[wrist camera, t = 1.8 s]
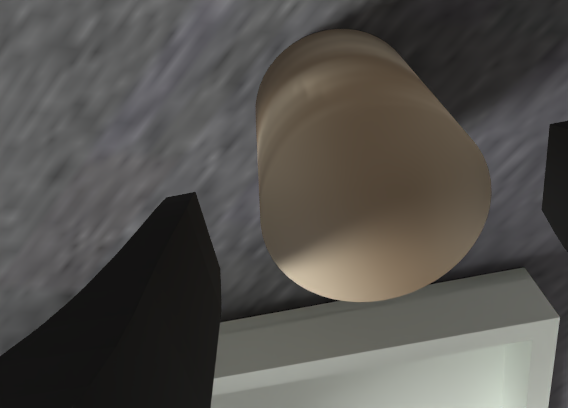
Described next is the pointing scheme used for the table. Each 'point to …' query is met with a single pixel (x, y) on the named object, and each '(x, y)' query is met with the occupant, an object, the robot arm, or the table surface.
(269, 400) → the tray
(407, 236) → the beige rounded cylinder
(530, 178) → the table surface
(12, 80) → the table surface
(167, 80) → the table surface
